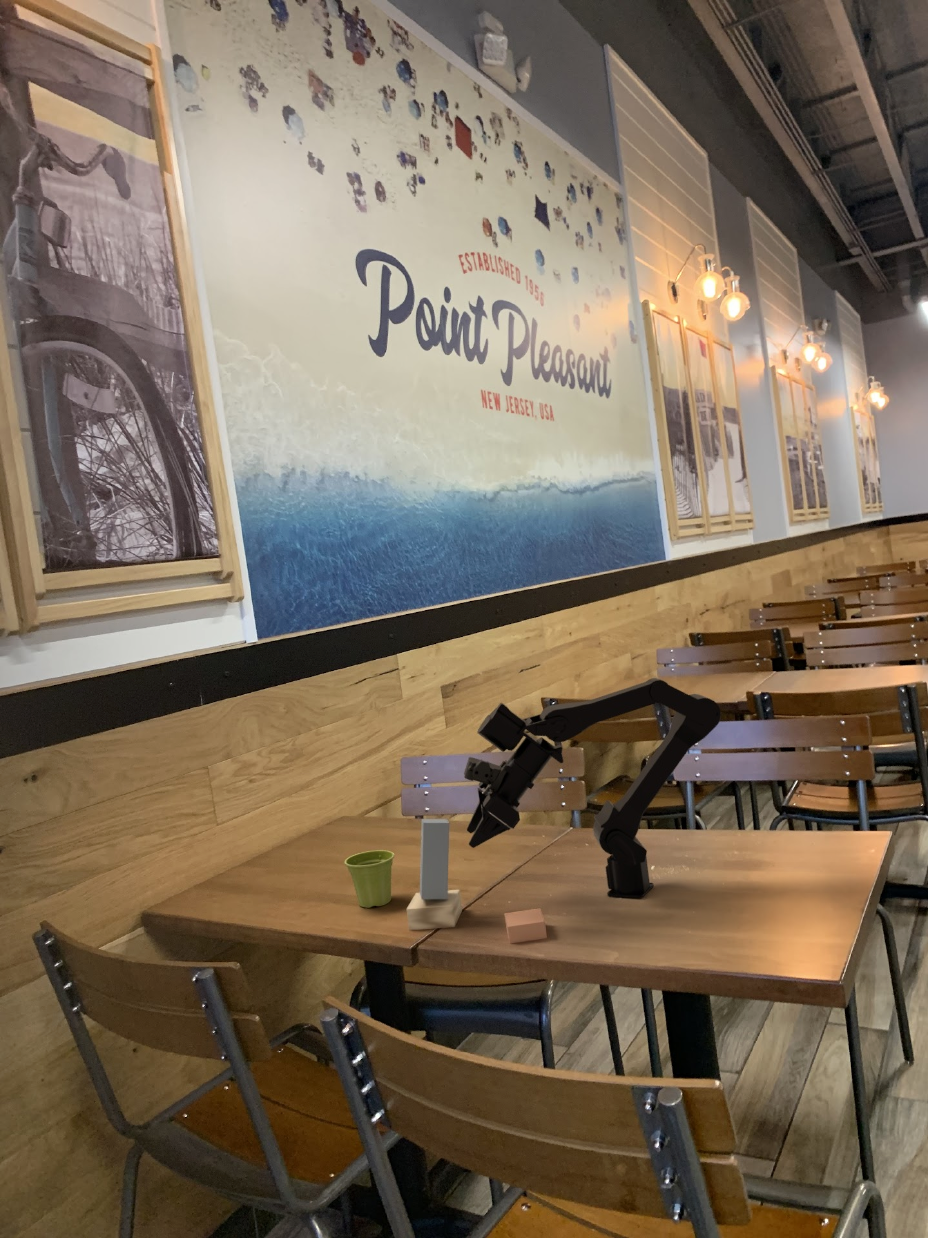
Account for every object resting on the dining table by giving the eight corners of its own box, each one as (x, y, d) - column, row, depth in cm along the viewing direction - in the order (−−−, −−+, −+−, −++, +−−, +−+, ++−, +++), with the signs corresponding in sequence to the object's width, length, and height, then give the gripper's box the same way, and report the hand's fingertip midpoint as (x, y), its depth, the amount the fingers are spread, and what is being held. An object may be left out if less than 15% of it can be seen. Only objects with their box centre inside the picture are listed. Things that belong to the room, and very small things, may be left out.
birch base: (462, 911, 165) (459, 889, 165) (455, 929, 158) (451, 906, 157) (419, 914, 167) (416, 892, 167) (409, 932, 159) (406, 909, 159)
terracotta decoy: (542, 926, 154) (540, 908, 153) (547, 940, 148) (544, 921, 147) (506, 931, 153) (504, 913, 153) (510, 945, 147) (507, 927, 147)
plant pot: (375, 891, 182) (369, 848, 182) (410, 896, 176) (404, 852, 175) (340, 908, 175) (334, 863, 174) (375, 914, 169) (369, 868, 168)
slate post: (445, 893, 164) (446, 819, 165) (447, 899, 160) (449, 823, 161) (419, 893, 164) (421, 819, 165) (421, 899, 159) (423, 822, 160)
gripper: (483, 731, 171) (432, 799, 171) (489, 749, 152) (432, 825, 152) (531, 767, 171) (480, 834, 171) (543, 789, 152) (486, 865, 153)
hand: (469, 838), depth 162 cm, fingers open, 9 cm apart
